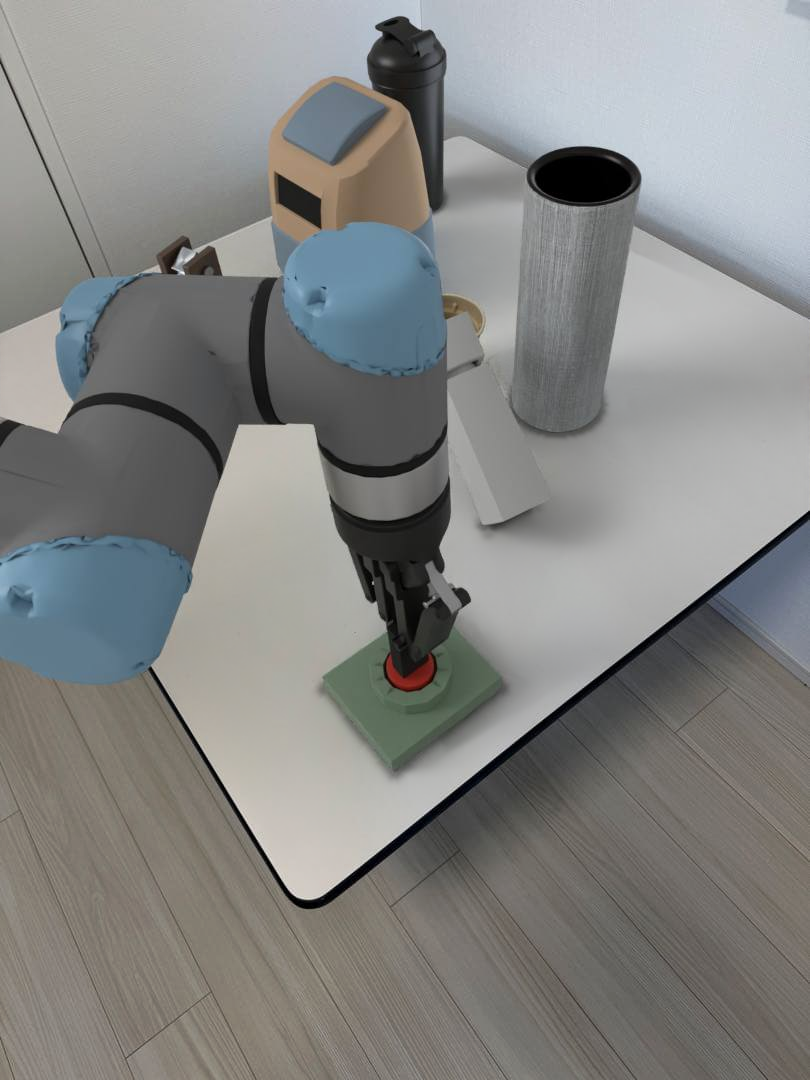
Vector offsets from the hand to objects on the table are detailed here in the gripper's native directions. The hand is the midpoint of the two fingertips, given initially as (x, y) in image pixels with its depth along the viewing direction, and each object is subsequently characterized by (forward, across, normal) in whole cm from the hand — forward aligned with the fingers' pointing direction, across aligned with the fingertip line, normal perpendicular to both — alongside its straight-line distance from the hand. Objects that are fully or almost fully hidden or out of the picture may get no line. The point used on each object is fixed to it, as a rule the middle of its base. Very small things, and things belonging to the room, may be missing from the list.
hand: (410, 663), depth 68 cm
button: (+2, 0, 0) cm, 2 cm away
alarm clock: (+5, +51, -31) cm, 60 cm away
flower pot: (+5, +29, -28) cm, 40 cm away
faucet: (+5, +16, -20) cm, 27 cm away
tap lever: (-4, +51, -6) cm, 52 cm away
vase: (+5, +18, -35) cm, 39 cm away
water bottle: (+5, +62, -49) cm, 79 cm away
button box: (+5, 0, 0) cm, 5 cm away
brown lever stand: (+5, +52, -10) cm, 53 cm away
